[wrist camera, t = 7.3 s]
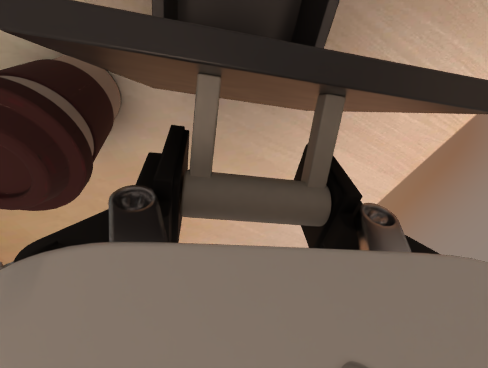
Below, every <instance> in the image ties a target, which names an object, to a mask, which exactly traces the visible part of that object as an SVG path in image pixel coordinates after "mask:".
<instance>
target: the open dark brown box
mask: <svg viewBox="0 0 488 368" xmlns="http://www.w3.org/2000/svg"><path fill="white" fill-rule="evenodd" d="M338 3H339V0H152V16H157V17H162V18H167V19H172V20H178V21H183V22H188V23H193V24H198V25H204V26H209V27H214V28H219V29H224V30H230V31H235V32H240V33H245V34H250V35H256V36H261V37H266V38H271V39H276V40H282V41H287V42H292V43H297V44H302V45H308V46H313V47H318V48H323V49H324V46H325V43H326V40H327V37H328V34H329V31H330V28H331V25H332V22H333V19H334V16H335V12H336V9H337V6H338Z"/></svg>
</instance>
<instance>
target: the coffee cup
mask: <svg viewBox="0 0 488 368" xmlns="http://www.w3.org/2000/svg"><path fill="white" fill-rule="evenodd" d="M120 104H121V98H120V93H119V89H118V87H117V85H116V83H115V81H114V80H113V78H112V77H111V76H110V74H109V73H108V72H107V71H106V70H105V69H102V68H99V67H97V66H94V65H91V64H89V63H86V62H83V61H81V60H78V59H76V58H73V57H70V56H62V57H58V58H55V59H51V60H50V59H44V60H37V61H33V62H29V63H25V64H22V65H18V66H14V67H10V68H7V69H3V70H0V209H7V210H29V211H40V210H50V209H55V208H58V207H61V206H64V205H66V204H68V203H70V202H71V201H73V200H74V199H75V198H76V197H78V196H79V195H80V193H81V192H82V190H83V189H84V187H85V186H86V184H87V183H88V181H89V179H90V177H91V174H92V170H93V162H94V160H95V158H96V156H97V155H98V153H99V151H100V149H101V147H102V146H103V144H104V142H105V140H106V138H107V136H108V135H109V133H110V131H111V129H112V126H113V121H114V119H115V117H116V116H117V114H118V112H119V109H120Z"/></svg>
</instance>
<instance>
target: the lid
mask: <svg viewBox="0 0 488 368" xmlns="http://www.w3.org/2000/svg"><path fill="white" fill-rule="evenodd" d="M0 30H2V31H4V32H7V33H9V34H12V35H15V36H17V37H20V38H23V39H25V40H28V41H31V42H33V43H36V44H39V45H41V46H44V47H46V48H49V49H52V50H54V51H57V52H60V53H62V54H65V55H68V56H70V57H73V58H76V59H78V60H81V61H83V62H86V63H89V64H91V65H94V66H97V67H99V68H102V69H105V70H107V71H110V72H113V73H115V74H118V75H120V76H123V77H126V78H128V79H131V80H134V81H136V82H139V83H142V84H144V85H147V86H150V87H152V88H157V89H163V90H170V91H177V92H184V93H190V94H196V98H195V111H194V123H193V135H192V148H191V160H190V170H186V172H185V176H184V182H183V190H182V201H181V215H182V216H183V217H192V218H206V219H220V220H234V221H248V222H262V223H277V224H291V225H305V226H323V225H324V224H325V223H326V222H327V220H328V218H329V216H330V212H331V194H330V191H329V188H328V187H327V186H326V183H327V179H328V174H329V170H330V166H331V161H332V157H333V152H334V148H335V144H336V139H337V135H338V130H339V126H340V122H341V117H342V113H343V111H350V112H402V113H454V114H488V80H485V79H479V78H474V77H469V76H464V75H459V74H453V73H448V72H443V71H438V70H433V69H427V68H422V67H417V66H412V65H406V64H401V63H396V62H391V61H386V60H380V59H375V58H370V57H365V56H360V55H354V54H349V53H344V52H339V51H334V50H328V49H323V48H318V47H313V46H308V45H302V44H297V43H292V42H287V41H282V40H276V39H271V38H266V37H261V36H256V35H250V34H245V33H240V32H235V31H230V30H224V29H219V28H214V27H209V26H204V25H198V24H193V23H188V22H183V21H178V20H172V19H167V18H162V17H157V16H152V15H146V14H141V13H136V12H131V11H126V10H120V9H115V8H110V7H105V6H100V5H94V4H89V3H84V2H79V1H74V0H0ZM219 98H224V99H231V100H238V101H244V102H251V103H258V104H265V105H271V106H278V107H285V108H292V109H298V110H305V111H315V113H314V118H313V123H312V128H311V133H310V138H309V143H308V148H307V153H306V158H305V163H304V168H303V173H302V178H301V181H295V180H285V179H275V178H265V177H256V176H246V175H236V174H226V173H216V172H212V163H213V154H214V144H215V135H216V125H217V115H218V106H219Z"/></svg>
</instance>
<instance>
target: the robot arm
mask: <svg viewBox="0 0 488 368" xmlns="http://www.w3.org/2000/svg"><path fill="white" fill-rule="evenodd" d="M307 148H308V144H307V145H306V147H305V149H304V152H303V155H302V158H301V161H300V164H299V167H298V170H297V172H296V175H295V178H294V180H295V181H301V178H302V173H303V168H304V163H305V158H306V153H307ZM188 149H189V130H185V127H184V126H176V125H171V127H170V130H169V133H168V136H167V139H166V143H165V146H164V149H163V152H162V154H161V153H151V152H150V153H149V154H148V156H147V158H146V161H145V163H144V166H143V168H142V170H141V173H140V175H139V178H138V180H137V183H136V185H130V186H125V187H122V188H120V189H118V190H116V191H115V192H113V194H112V195H111V196H110V198H109V209H108V210H106V211H103V212H101V213H99V214H96V215H94V216H92V217H90V218H87V219H85V220H83V221H80V222H78V223H76V224H74V225H71V226H69V227H67V228H64V229H62V230H60V231H57V232H55V233H53V234H51V235H48V236H46V237H44V238H41V239H39V240H37V241H35V242H33V243H31V244H29V245H28V246H26V247H25V248H24V249H23V250H21V251H20V252H19V254H18V255H17V256H16V258H15V260H14V261H13V262H11V263H8V264H6V265H3V264H2V262H0V368H488V262H484V261H480V260H476V259H472V258H465V257H460V256H453V255H441V254H439V253H437V252H435V251H433V250H432V249H430V248H428V247H426V246H424V245H423V244H421V243H419V242H417V241H415V240H413V239H412V238H410V237H408V236H406V235H404V233H403V230H402V228H401V225H400V223H399V221H398V219H397V217H396V216H395V215H394V214H393V213H392V212H391V211H389V210H388V209H386V208H384V207H382V206H380V205H377V204H374V203H364V204H362V202H361V201H360V200H361V198H362V195H361V193H360V192H359V191H358V189H357V188H356V186H355V185H354V184H353V182H352V181H351V179H350V178H349V177H348V175H347V174H346V173H345V171H344V170H343V168H342V167H341V166H340V164H339V163H338V161H337V160H336V159H335V157H334V156H333V157H332V161H331V166H330V170H329V174H328V179H327V183H326V186H327V187H328V188H329V191H330V194H331V212H330V216H329V218H328V220H327V222H326V223H325V224H324V225H323V226H305V225H301V227H302V230H303V232H304V235H305V238H306V240H307V243H308V246H309V248H295V247H271V246H247V245H221V244H194V243H178V241H179V235H180V228H181V221H182V215H181V201H182V190H183V182H184V176H185V172H186V170H187V169H188Z"/></svg>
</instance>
